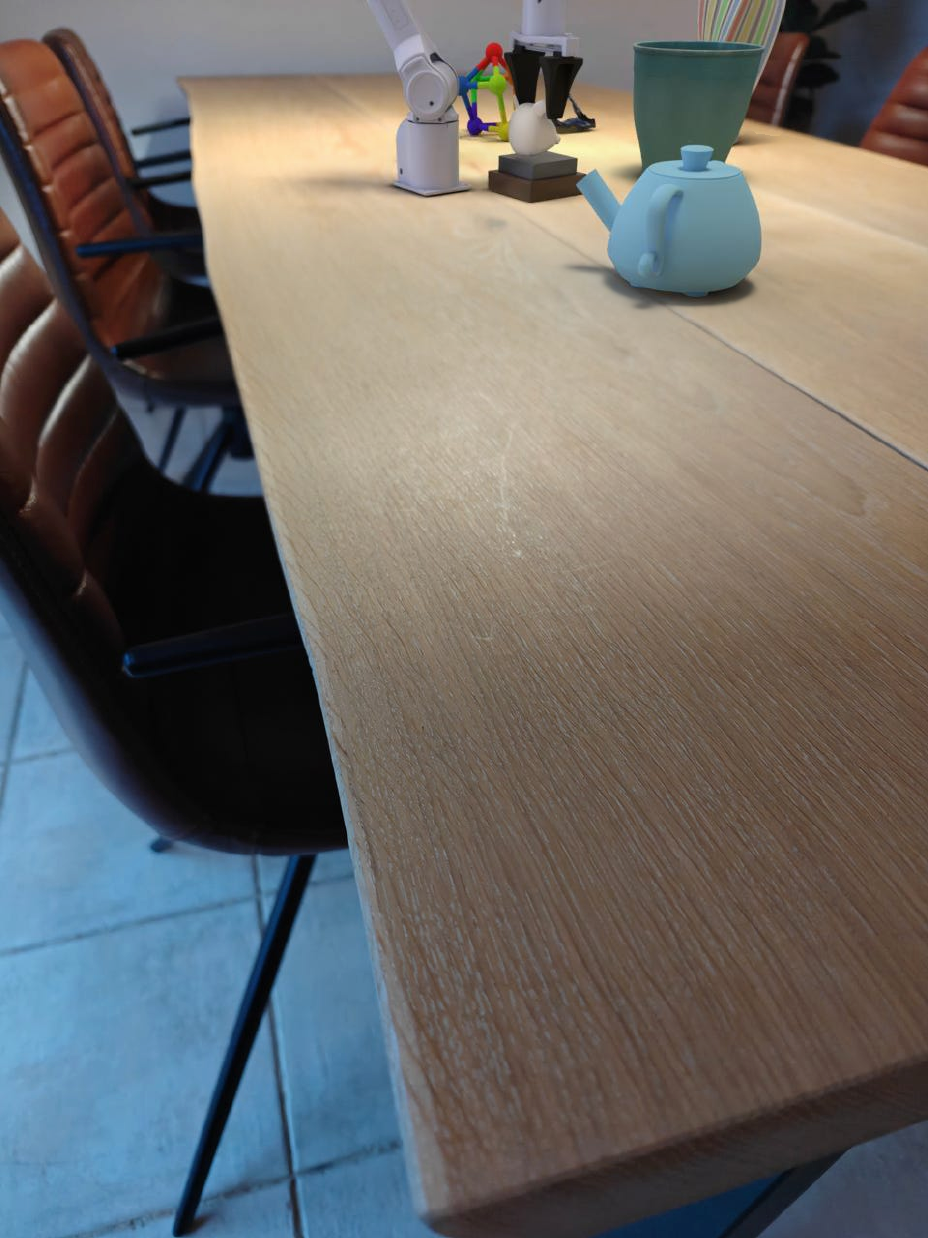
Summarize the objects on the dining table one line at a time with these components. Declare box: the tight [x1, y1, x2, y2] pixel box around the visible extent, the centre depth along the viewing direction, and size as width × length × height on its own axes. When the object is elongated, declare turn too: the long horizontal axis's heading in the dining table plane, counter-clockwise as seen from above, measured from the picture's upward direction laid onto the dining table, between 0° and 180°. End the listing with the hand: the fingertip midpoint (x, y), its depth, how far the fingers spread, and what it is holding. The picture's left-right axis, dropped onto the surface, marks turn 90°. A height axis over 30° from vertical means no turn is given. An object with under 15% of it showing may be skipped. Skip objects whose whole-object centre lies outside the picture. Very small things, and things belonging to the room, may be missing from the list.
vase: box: [696, 0, 787, 144], centre depth 147 cm, size 14×14×30 cm
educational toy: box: [457, 41, 516, 142], centre depth 158 cm, size 16×13×15 cm
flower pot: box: [632, 39, 765, 175], centre depth 128 cm, size 18×18×17 cm
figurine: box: [508, 94, 561, 156], centre depth 121 cm, size 8×6×7 cm
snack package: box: [551, 93, 597, 134], centre depth 168 cm, size 12×6×12 cm
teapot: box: [576, 145, 762, 298], centre depth 89 cm, size 20×20×13 cm
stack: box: [487, 150, 588, 203], centre depth 125 cm, size 10×10×4 cm
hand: (540, 114), depth 120 cm, fingers open, 7 cm apart
